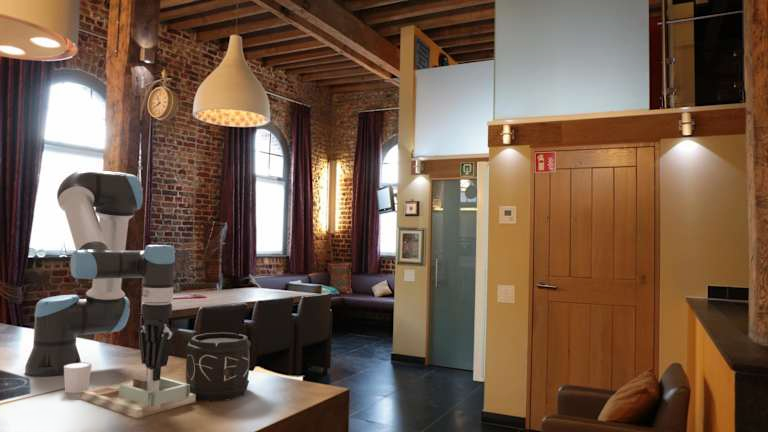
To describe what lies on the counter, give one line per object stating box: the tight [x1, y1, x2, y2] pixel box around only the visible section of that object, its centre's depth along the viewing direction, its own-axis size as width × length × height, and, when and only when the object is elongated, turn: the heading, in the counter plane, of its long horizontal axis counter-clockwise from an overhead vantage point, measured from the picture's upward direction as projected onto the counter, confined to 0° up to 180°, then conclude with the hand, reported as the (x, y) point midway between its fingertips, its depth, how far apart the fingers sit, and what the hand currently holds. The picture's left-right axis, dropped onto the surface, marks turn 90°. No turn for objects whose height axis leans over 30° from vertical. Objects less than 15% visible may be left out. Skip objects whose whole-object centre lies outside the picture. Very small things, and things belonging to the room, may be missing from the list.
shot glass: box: [63, 362, 92, 394], centre depth 153 cm, size 7×7×7 cm
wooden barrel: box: [185, 332, 251, 402], centre depth 155 cm, size 18×18×16 cm
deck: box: [80, 379, 197, 419], centre depth 146 cm, size 25×17×2 cm
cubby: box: [119, 376, 190, 407], centre depth 143 cm, size 14×12×3 cm
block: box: [132, 375, 147, 391], centre depth 145 cm, size 4×4×4 cm
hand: (152, 392), depth 144 cm, fingers closed
